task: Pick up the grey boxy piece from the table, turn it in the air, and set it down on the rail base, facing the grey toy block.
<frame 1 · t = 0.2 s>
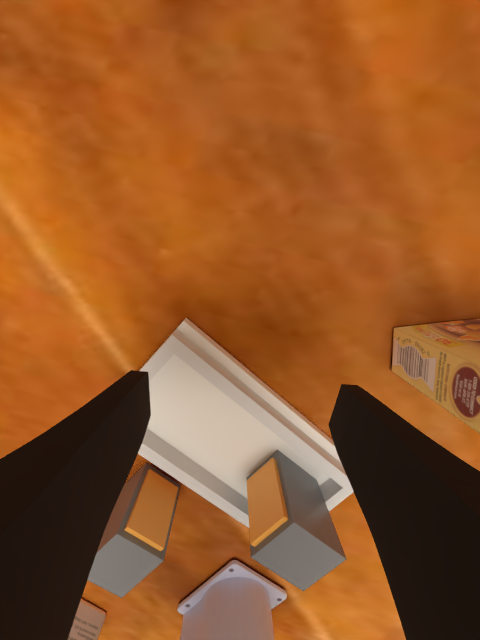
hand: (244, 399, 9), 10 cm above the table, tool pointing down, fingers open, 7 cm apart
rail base: (233, 434, 22), on the table
candy box: (441, 341, 20), on the table
grey boxy piece: (147, 489, 23), on the table
container: (59, 610, 27), on the table
grey toy block: (281, 478, 22), resting on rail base
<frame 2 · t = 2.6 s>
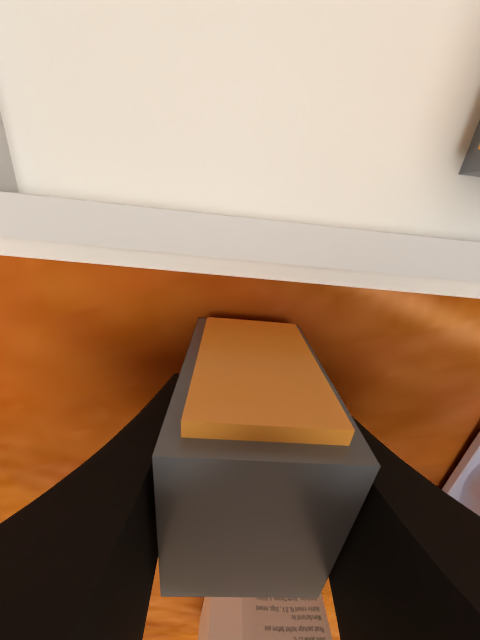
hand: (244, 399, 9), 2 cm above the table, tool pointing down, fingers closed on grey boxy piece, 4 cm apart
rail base: (349, 84, 7), on the table
grey boxy piece: (242, 373, 11), on the table, touching gripper
container: (255, 588, 19), on the table
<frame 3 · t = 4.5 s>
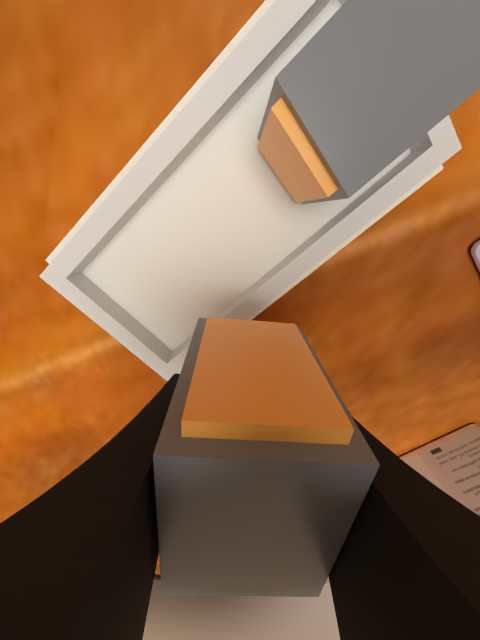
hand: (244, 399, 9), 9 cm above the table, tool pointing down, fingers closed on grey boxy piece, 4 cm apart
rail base: (234, 216, 15), on the table
grey boxy piece: (243, 373, 11), point 7 cm above the table, touching gripper
container: (443, 460, 24), on the table
grey toy block: (320, 135, 12), resting on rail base
when the fingers open (4 cm above the table, at t = 6.7 s): grey boxy piece stays where it is, resting on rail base.
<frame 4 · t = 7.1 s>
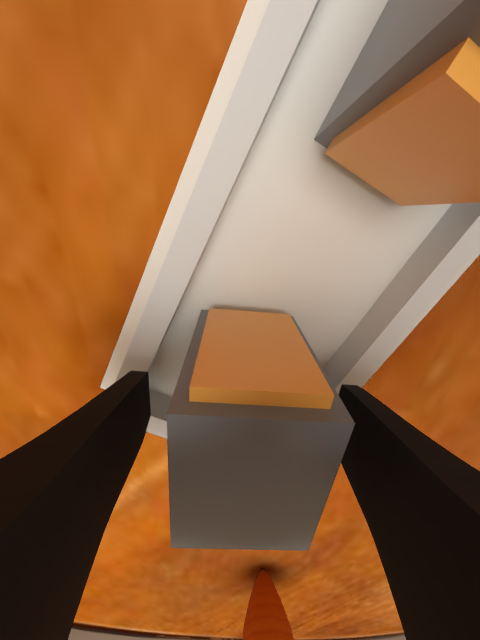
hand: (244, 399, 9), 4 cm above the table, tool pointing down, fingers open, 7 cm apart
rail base: (301, 252, 11), on the table
grey boxy piece: (242, 361, 12), point 1 cm above the table, touching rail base
carrot: (262, 566, 22), on the table
grey toy block: (410, 91, 8), resting on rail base
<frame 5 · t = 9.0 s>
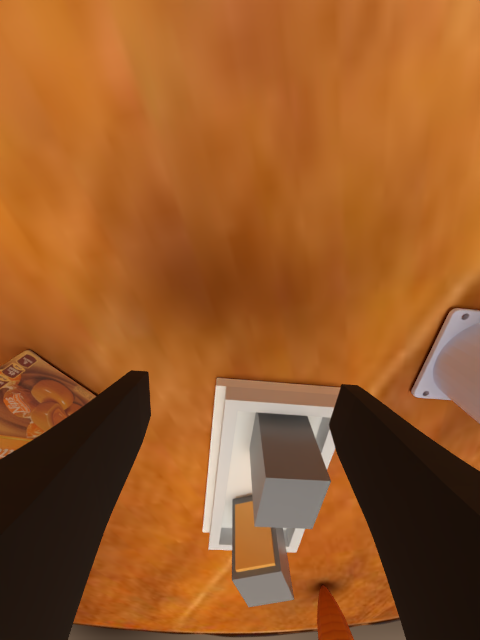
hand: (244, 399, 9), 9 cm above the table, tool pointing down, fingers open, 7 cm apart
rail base: (264, 464, 24), on the table
candy box: (66, 393, 21), on the table
grey boxy piece: (257, 509, 26), point 1 cm above the table, touching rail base
carrot: (322, 583, 35), on the table
grey toy block: (275, 429, 21), resting on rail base
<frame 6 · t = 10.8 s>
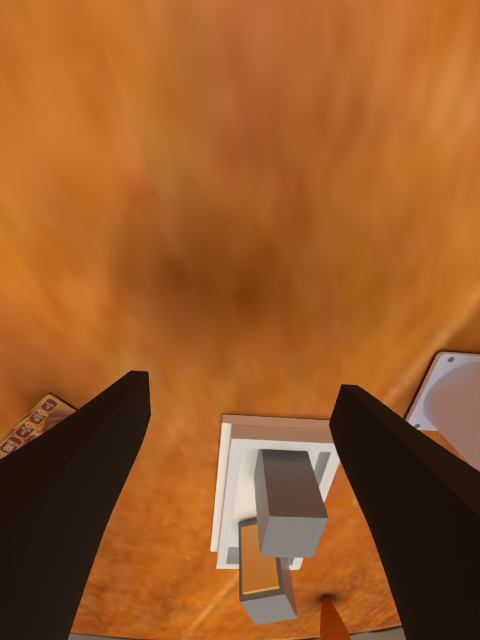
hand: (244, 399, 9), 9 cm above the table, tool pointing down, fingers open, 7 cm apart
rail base: (267, 489, 26), on the table
candy box: (83, 429, 22), on the table
grey boxy piece: (262, 530, 27), point 1 cm above the table, touching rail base
carrot: (324, 595, 36), on the table
grey toy block: (278, 460, 23), resting on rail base
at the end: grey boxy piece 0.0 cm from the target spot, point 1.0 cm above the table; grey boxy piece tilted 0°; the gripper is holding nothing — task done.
